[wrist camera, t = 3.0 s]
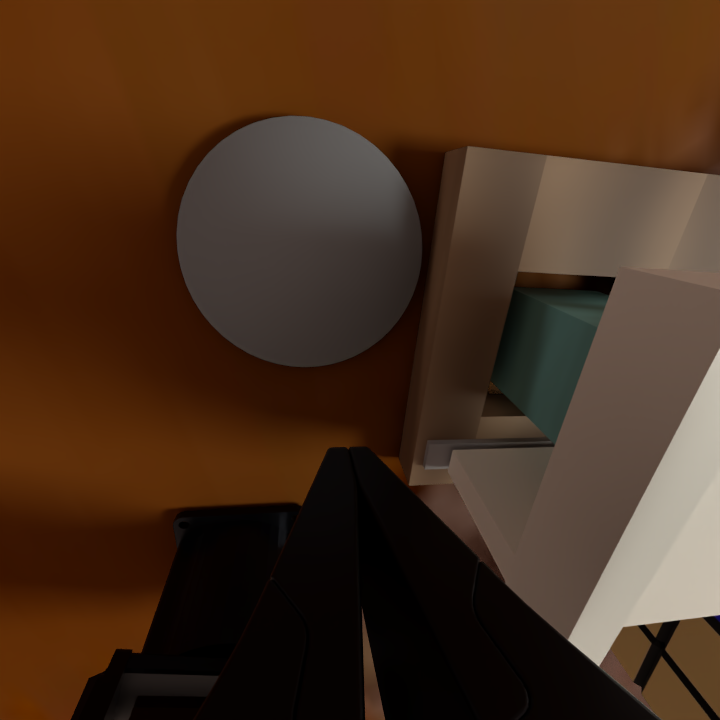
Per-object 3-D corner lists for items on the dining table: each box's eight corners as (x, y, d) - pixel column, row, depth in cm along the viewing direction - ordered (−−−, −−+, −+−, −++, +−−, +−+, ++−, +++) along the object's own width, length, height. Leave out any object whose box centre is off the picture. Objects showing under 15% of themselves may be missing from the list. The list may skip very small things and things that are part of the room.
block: (485, 375, 18) (586, 476, 11) (507, 286, 16) (642, 347, 10) (565, 376, 18) (702, 471, 12) (596, 290, 17) (773, 350, 10)
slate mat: (195, 360, 15) (191, 366, 15) (165, 102, 12) (158, 98, 11) (402, 362, 17) (406, 368, 16) (434, 135, 13) (440, 132, 13)
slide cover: (422, 472, 16) (528, 716, 9) (467, 231, 12) (747, 296, 4) (620, 464, 18) (854, 663, 10) (720, 250, 14) (1234, 320, 6)
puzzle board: (398, 457, 19) (410, 490, 17) (445, 152, 13) (471, 145, 11) (766, 445, 23) (812, 470, 21) (923, 206, 17) (1007, 207, 15)
